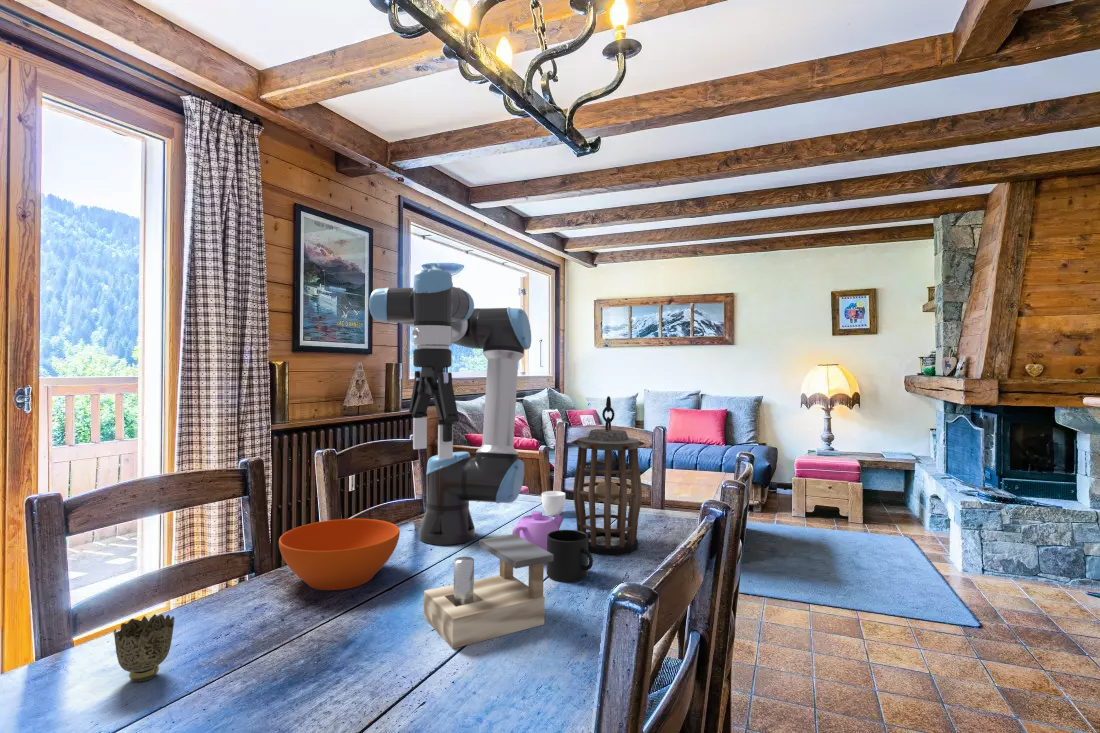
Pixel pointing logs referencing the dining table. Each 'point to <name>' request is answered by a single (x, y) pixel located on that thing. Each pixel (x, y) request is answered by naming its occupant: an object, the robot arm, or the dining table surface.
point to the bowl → (339, 551)
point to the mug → (568, 555)
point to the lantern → (608, 489)
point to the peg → (463, 581)
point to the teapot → (537, 528)
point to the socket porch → (493, 597)
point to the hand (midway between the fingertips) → (432, 453)
